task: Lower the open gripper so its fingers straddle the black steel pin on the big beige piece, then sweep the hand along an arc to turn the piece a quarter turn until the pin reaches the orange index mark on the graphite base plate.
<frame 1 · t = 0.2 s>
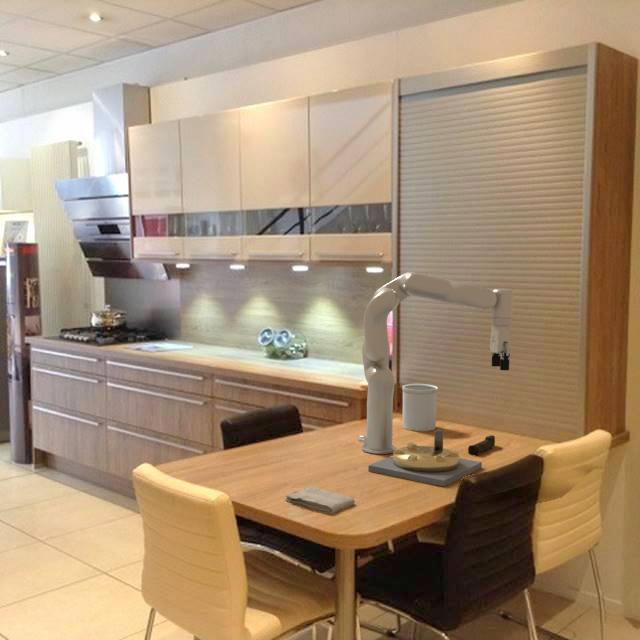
hand: (500, 368, 286), 31 cm above the table, tool pointing down, fingers open, 9 cm apart
hand tool: (482, 451, 288), on the table
utensil holder: (419, 428, 324), on the table
washcloth: (319, 505, 224), on the table
beige piece: (426, 449, 260), point 7 cm above the table, hinge at 0.0°
base plate: (425, 469, 261), on the table
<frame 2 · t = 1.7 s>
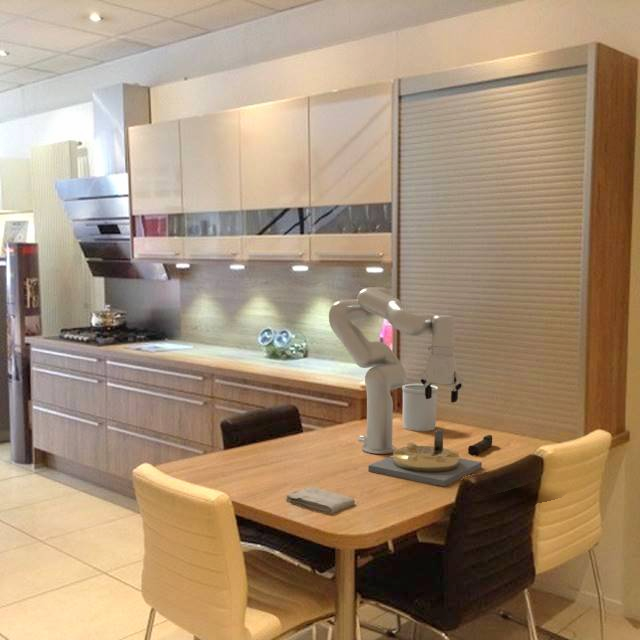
hand: (441, 400, 267), 22 cm above the table, tool pointing down, fingers open, 9 cm apart
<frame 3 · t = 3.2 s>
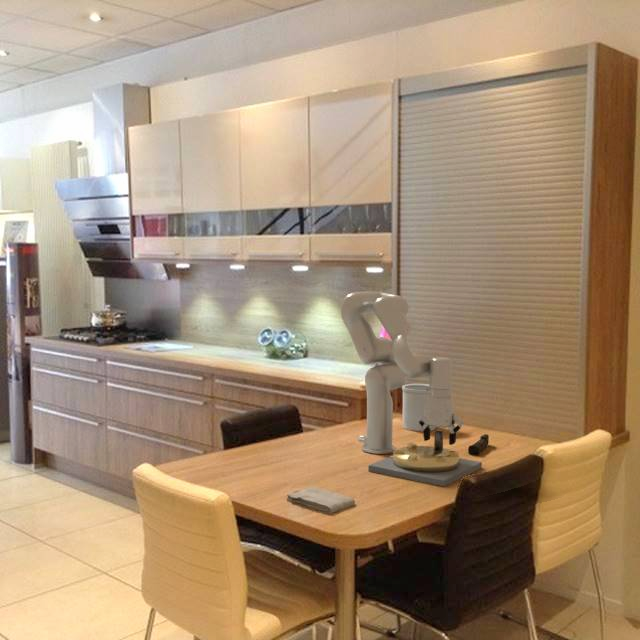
hand: (439, 442, 267), 8 cm above the table, tool pointing down, fingers open, 9 cm apart
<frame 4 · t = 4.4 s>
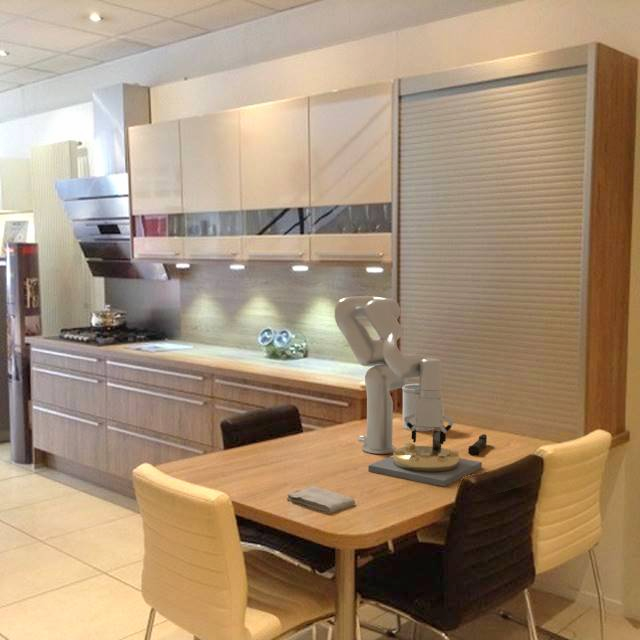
hand: (428, 442, 269), 7 cm above the table, tool pointing down, fingers open, 9 cm apart
beige piece: (426, 449, 260), point 7 cm above the table, hinge at 4.2°
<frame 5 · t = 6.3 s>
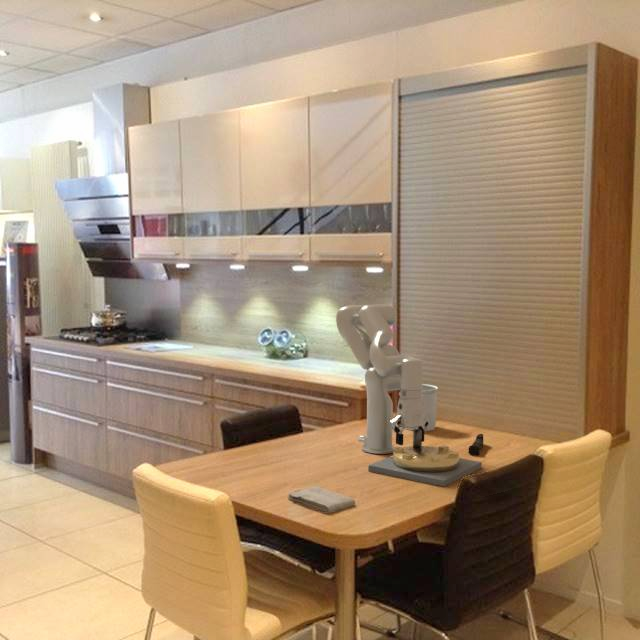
hand: (410, 442, 268), 7 cm above the table, tool pointing down, fingers open, 9 cm apart
beige piece: (426, 449, 260), point 7 cm above the table, hinge at 48.2°, touching gripper
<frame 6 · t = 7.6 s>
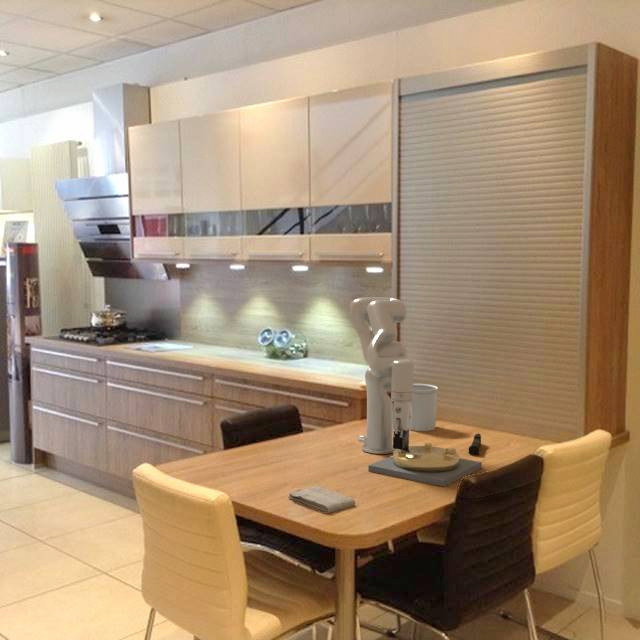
hand: (400, 445, 264), 7 cm above the table, tool pointing down, fingers open, 9 cm apart
beige piece: (426, 449, 260), point 7 cm above the table, hinge at 84.3°, touching gripper
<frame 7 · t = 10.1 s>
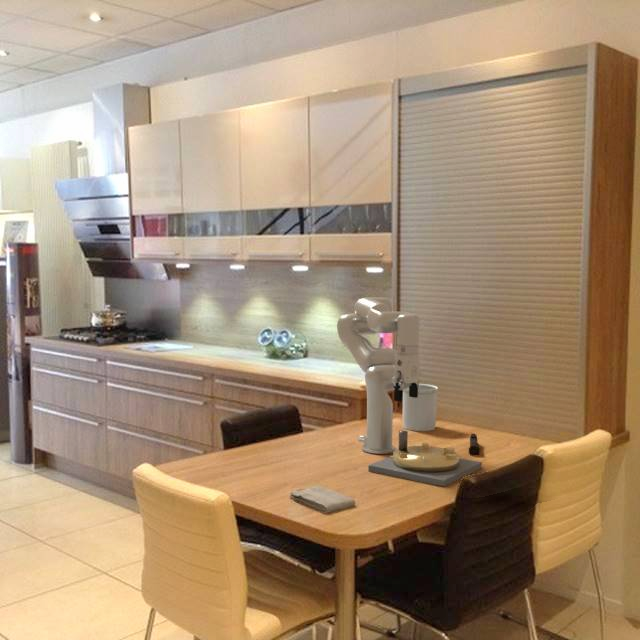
hand: (405, 399, 266), 23 cm above the table, tool pointing down, fingers open, 9 cm apart
beige piece: (426, 449, 260), point 7 cm above the table, hinge at 90.1°
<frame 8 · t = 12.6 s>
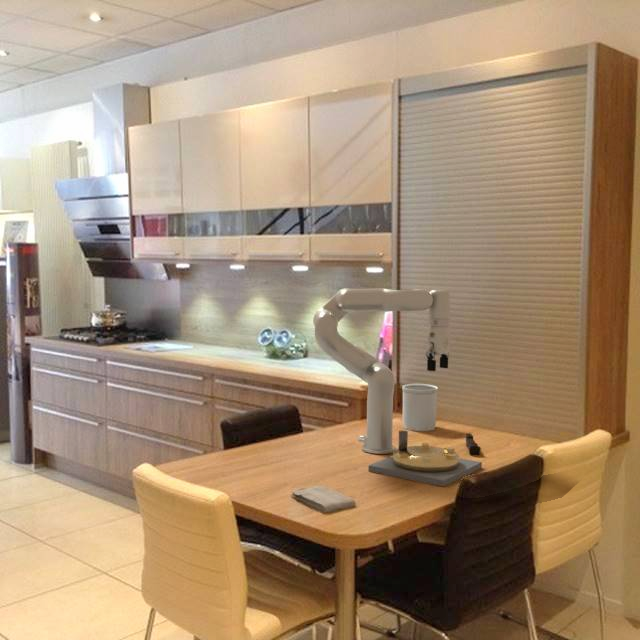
hand: (437, 369, 285), 30 cm above the table, tool pointing down, fingers open, 9 cm apart
at the end: beige piece at +90° (first picture: +0°); hand tool moved 4.8 cm from its start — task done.
